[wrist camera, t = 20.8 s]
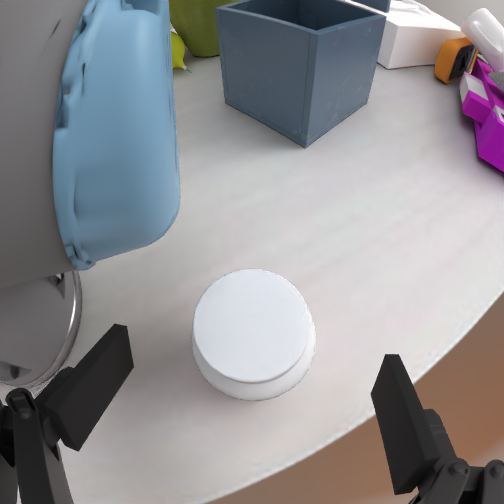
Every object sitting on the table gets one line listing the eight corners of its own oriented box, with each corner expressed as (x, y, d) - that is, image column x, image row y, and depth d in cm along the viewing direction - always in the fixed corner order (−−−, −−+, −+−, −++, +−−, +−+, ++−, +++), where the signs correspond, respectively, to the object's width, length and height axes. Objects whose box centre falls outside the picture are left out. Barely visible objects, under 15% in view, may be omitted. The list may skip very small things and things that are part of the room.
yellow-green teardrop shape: (178, 45, 42) (204, 76, 40) (141, 64, 42) (162, 98, 40) (169, 16, 35) (196, 45, 33) (127, 37, 34) (148, 69, 33)
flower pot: (168, 76, 39) (148, -17, 25) (166, 43, 46) (151, -28, 32) (265, 58, 41) (263, -33, 26) (243, 29, 47) (239, -42, 33)
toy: (519, 85, 35) (559, 169, 22) (508, 106, 40) (537, 197, 27) (461, 50, 38) (478, 109, 25) (452, 73, 44) (459, 145, 30)
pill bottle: (210, 324, 23) (170, 262, 13) (290, 312, 23) (310, 241, 13) (220, 404, 20) (182, 409, 10) (305, 391, 20) (344, 385, 10)
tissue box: (457, 62, 45) (470, 23, 35) (387, 69, 40) (401, 13, 30) (409, 32, 51) (418, -5, 41) (332, 35, 46) (338, -13, 36)
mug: (519, 50, 23) (474, -1, 23) (488, 74, 30) (447, 25, 31) (527, 56, 27) (491, 13, 28) (501, 75, 34) (468, 33, 35)
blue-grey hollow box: (305, 148, 31) (318, 35, 19) (225, 103, 35) (214, 8, 23) (366, 103, 35) (387, 16, 23) (293, 67, 39) (297, -12, 28)
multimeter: (441, 38, 32) (458, 48, 31) (468, 33, 37) (482, 41, 36) (429, 77, 40) (445, 87, 39) (458, 63, 45) (471, 72, 43)
